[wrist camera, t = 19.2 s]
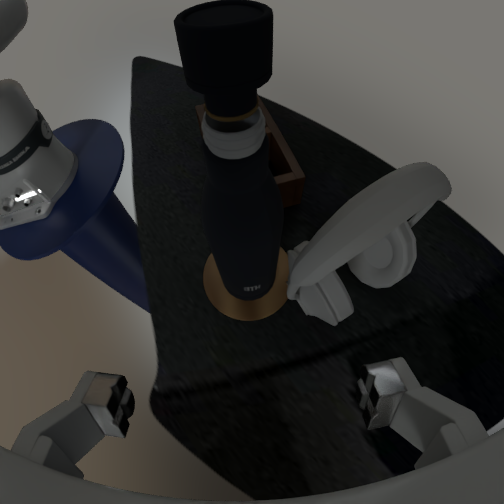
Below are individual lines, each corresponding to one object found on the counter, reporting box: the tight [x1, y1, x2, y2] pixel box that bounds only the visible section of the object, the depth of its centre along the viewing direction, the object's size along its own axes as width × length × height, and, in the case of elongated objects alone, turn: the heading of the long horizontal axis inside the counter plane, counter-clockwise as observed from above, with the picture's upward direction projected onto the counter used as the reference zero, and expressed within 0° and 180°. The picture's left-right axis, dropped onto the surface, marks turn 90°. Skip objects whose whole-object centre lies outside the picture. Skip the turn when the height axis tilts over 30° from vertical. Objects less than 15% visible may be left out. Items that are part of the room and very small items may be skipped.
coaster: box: [203, 247, 289, 321], centre depth 36 cm, size 11×11×1 cm
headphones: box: [286, 162, 452, 326], centre depth 27 cm, size 19×9×20 cm, turn 119°
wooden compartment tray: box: [195, 94, 305, 208], centre depth 41 cm, size 10×19×6 cm, turn 18°
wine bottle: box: [174, 0, 284, 301], centre depth 22 cm, size 6×6×30 cm
